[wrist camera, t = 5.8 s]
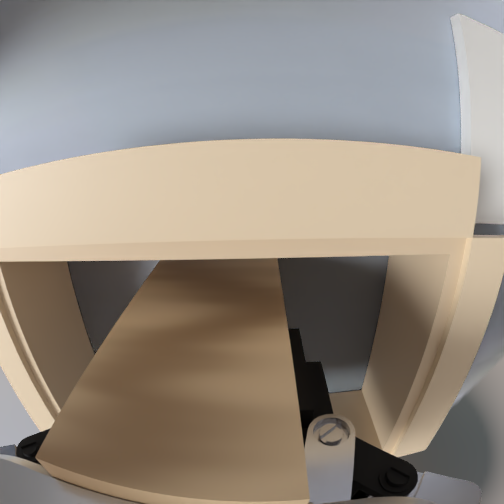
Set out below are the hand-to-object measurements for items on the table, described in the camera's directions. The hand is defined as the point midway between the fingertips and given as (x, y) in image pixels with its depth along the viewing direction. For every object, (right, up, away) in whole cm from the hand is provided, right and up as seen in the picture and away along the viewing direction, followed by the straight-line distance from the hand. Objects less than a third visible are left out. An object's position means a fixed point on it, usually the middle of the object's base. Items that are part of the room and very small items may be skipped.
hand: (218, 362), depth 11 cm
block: (0, +1, +3) cm, 3 cm away
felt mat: (+15, +10, -1) cm, 18 cm away
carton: (0, +1, +3) cm, 3 cm away
